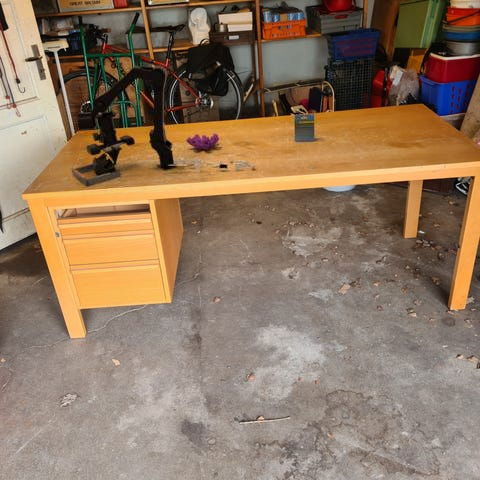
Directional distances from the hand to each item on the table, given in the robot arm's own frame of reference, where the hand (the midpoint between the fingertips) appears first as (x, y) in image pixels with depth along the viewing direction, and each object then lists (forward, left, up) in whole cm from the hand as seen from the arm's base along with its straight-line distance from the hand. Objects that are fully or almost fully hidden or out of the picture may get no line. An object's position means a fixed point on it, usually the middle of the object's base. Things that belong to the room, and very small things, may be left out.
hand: (115, 164), depth 192 cm
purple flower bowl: (-4, -41, -3) cm, 41 cm away
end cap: (-3, +4, -2) cm, 5 cm away
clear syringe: (-27, -31, -3) cm, 41 cm away
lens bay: (0, +8, -2) cm, 9 cm away
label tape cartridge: (-29, -80, -3) cm, 85 cm away
